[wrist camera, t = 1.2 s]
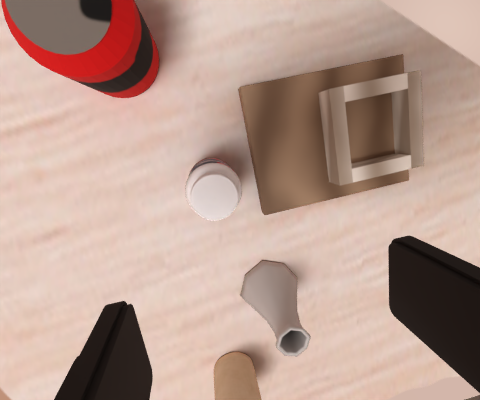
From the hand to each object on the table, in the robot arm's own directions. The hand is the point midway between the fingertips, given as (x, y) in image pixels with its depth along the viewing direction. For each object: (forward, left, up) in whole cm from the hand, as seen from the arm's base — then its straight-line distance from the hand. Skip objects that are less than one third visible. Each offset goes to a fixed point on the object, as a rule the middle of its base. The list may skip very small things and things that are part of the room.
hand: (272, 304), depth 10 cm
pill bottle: (+1, -1, -23) cm, 23 cm away
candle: (+4, +25, -23) cm, 34 cm away
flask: (-3, +14, -23) cm, 27 cm away
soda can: (+7, -15, -23) cm, 28 cm away
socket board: (-13, -3, -23) cm, 26 cm away
